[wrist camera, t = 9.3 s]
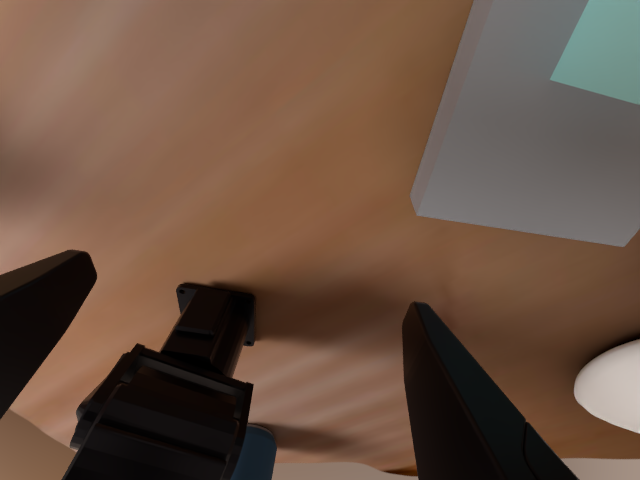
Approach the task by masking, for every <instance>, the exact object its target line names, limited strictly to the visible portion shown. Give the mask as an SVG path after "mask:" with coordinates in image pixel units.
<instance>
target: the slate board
mask: <svg viewBox="0 0 640 480" xmlns="http://www.w3.org/2000/svg"><path fill="white" fill-rule="evenodd" d="M588 1H589V0H474V1H473V4H472V7H471V11H470V14H469V17H468V20H467V23H466V26H465V29H464V32H463V35H462V38H461V41H460V44H459V47H458V50H457V53H456V56H455V59H454V62H453V65H452V68H451V71H450V74H449V78H448V81H447V84H446V87H445V90H444V93H443V96H442V99H441V102H440V105H439V108H438V111H437V114H436V117H435V120H434V123H433V126H432V129H431V132H430V135H429V138H428V142H427V145H426V148H425V151H424V154H423V157H422V160H421V163H420V166H419V169H418V172H417V175H416V178H415V181H414V184H413V187H412V190H411V193H410V198H411V201H412V204H413V206H414V209H415V212H416V215H417V216H423V217H430V218H437V219H443V220H450V221H456V222H463V223H469V224H476V225H482V226H489V227H496V228H502V229H509V230H515V231H522V232H528V233H535V234H541V235H548V236H555V237H561V238H568V239H574V240H581V241H587V242H594V243H601V244H607V245H614V246H620V247H624V246H625V245H626V244H627V243H628V242H629V241H630V239H631V238H632V237H633V236H634V235H635V234H636V232H637V231H638V230H639V229H640V105H638V104H634V103H631V102H627V101H624V100H620V99H616V98H613V97H609V96H606V95H602V94H599V93H595V92H591V91H588V90H584V89H581V88H577V87H574V86H570V85H566V84H563V83H559V82H556V81H552V80H550V78H551V76H552V74H553V72H554V70H555V68H556V66H557V64H558V62H559V60H560V58H561V56H562V54H563V52H564V50H565V48H566V46H567V44H568V42H569V40H570V38H571V36H572V33H573V31H574V29H575V27H576V25H577V23H578V21H579V19H580V17H581V15H582V13H583V11H584V9H585V7H586V5H587V3H588Z"/></svg>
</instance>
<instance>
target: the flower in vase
mask: <svg viewBox="0 0 640 480" xmlns="http://www.w3.org/2000/svg"><path fill="white" fill-rule="evenodd" d="M574 395H575V398H576V400H577V401H578V403H579V404H581V405H582V406H583V407H584V408H585V409H586V410H587V411H588V412H590V413H591V414H592V415H594V416H596V417H598V418H600V419H602V420H605V421H607V422H609V423H611V424H613V425H616V426H619V427H622V428H625V429H628V430H631V431H634V432H637V433H640V339H638V340H635V341H631V342H628V343H625V344H622V345H620V346H617V347H615V348H613V349H610V350H608V351H606V352H604V353H602V354H601V355H599V356H597V357H596V358H594V359H593V360H591V361H590V362H589V363H588V364H586V365H585V366H584V367H583V368H582V369H581V371H580V372H579V374H578V375H577V377H576V380H575V386H574Z"/></svg>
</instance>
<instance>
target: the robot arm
mask: <svg viewBox="0 0 640 480" xmlns="http://www.w3.org/2000/svg"><path fill="white" fill-rule="evenodd" d="M96 280H97V272H96V270H95V267H94V265H93V262H92V259H91V257H90V255H89V254H88V253H87V252H85V251H79V250H67V251H65V252H62V253H59V254H56V255H54V256H51V257H48V258H46V259H43V260H40V261H37V262H35V263H32V264H29V265H26V266H24V267H21V268H18V269H16V270H13V271H10V272H7V273H5V274H2V275H0V419H1V418H2V416H3V415H4V414H5V412H6V411H7V410H8V408H9V407H10V406H11V404H12V403H13V402H14V400H15V399H16V398H17V396H18V395H19V394H20V392H21V391H22V390H23V388H24V387H25V386H26V384H27V383H28V382H29V380H30V379H31V378H32V376H33V375H34V374H35V372H36V371H37V370H38V368H39V367H40V366H41V364H42V363H43V362H44V360H45V359H46V357H47V356H48V355H49V353H50V352H51V351H52V349H53V348H54V347H55V345H56V344H57V343H58V341H59V340H60V339H61V337H62V336H63V335H64V333H65V332H66V330H67V329H68V327H69V326H70V324H71V322H72V321H73V319H74V317H75V316H76V314H77V312H78V311H79V309H80V307H81V306H82V304H83V302H84V301H85V299H86V298H87V296H88V294H89V293H90V291H91V289H92V288H93V286H94V284H95V282H96ZM176 293H177V298H178V303H179V308H180V313H181V315H180V317H179V319H178V321H177V322H176V324H175V326H174V327H173V329H172V331H171V332H170V334H169V336H168V338H167V339H166V341H165V343H164V344H163V346H162V348H161V350H160V351H159V352H157V351H154V350H151V349H148V348H145V346H144V345H141V344H138V343H137V344H136V345H135V347H134V348H133V349H132V350H131V352H127V353H125V354H123V355H122V356H121V358H120V359H119V361H118V362H117V364H116V365H115V367H114V368H113V369H112V371H111V372H110V373H109V375H108V376H107V377H106V378H105V379H104V380H103V381H102V382H101V383H100V384H99V385H98V386H97V387H96V388H95V389H94V390H93V391H92V392H91V393H90V394H89V395H88V396H87V397H86V398H85V399H84V400H83V401H82V403H81V404H80V405H79V407H78V409H77V411H76V415H77V419H78V424H77V426H76V429H75V433H74V435H73V437H72V440H71V442H70V448H73V449H77V450H78V451H77V453H76V455H75V457H74V459H73V460H72V462H71V464H70V466H69V467H68V470H67V471H66V473H65V475H64V476H63V478H62V480H230V479H231V477H232V475H233V473H234V470H235V468H236V465H237V462H238V460H239V457H240V454H241V450H242V447H243V443H244V439H245V435H246V429H247V423H248V416H249V410H250V404H251V398H252V392H253V385H254V384H251V383H249V382H246V383H245V382H242V381H239V380H236V379H233V378H232V377H233V374H234V371H235V368H236V365H237V362H238V359H239V356H240V353H241V350H242V347H243V345H244V346H253V345H254V342H255V303H256V299H255V297H254V296H253V295H252V294H247V293H240V292H233V291H227V290H220V289H213V288H207V287H200V286H193V285H187V284H180V285H179V286H178V287H177V289H176ZM402 338H403V367H404V384H405V391H406V398H407V405H408V412H409V418H410V425H411V432H412V438H413V445H414V452H415V459H416V465H417V472H418V478H419V480H579V479H578V478H577V477H576V475H575V474H574V473H573V472H572V471H571V470H570V469H569V468H568V467H567V466H566V465H565V464H564V462H563V461H562V460H561V459H560V458H559V457H558V456H557V455H556V453H555V452H554V451H553V450H552V449H551V448H550V447H549V445H548V444H547V443H546V442H545V441H544V440H543V439H542V437H541V436H540V435H539V434H538V433H537V432H536V430H535V429H534V428H533V427H532V426H531V424H530V423H529V422H526V419H525V418H524V416H523V415H522V414H521V413H520V412H519V411H518V409H517V408H516V407H515V406H514V405H513V403H512V402H511V401H510V400H509V399H508V398H507V396H506V395H505V394H504V393H503V392H502V391H501V389H500V388H499V387H498V386H497V385H496V383H495V382H494V381H493V380H492V379H491V378H490V376H489V375H488V374H487V373H486V372H485V371H484V369H483V368H482V367H481V366H480V365H479V363H478V362H477V361H476V360H475V359H474V358H473V356H472V355H471V354H470V353H469V352H468V351H467V349H466V348H465V347H464V346H463V345H462V343H461V342H460V341H459V340H458V339H457V338H456V336H455V335H454V334H453V333H452V332H451V331H450V329H449V328H448V327H447V326H446V325H445V323H444V322H443V321H442V320H441V319H440V318H439V316H438V315H437V314H436V313H435V312H434V311H433V309H432V308H431V307H430V306H429V305H428V304H426V303H422V302H415V301H414V302H412V303H411V304H410V306H409V308H408V311H407V313H406V315H405V318H404V320H403V325H402Z"/></svg>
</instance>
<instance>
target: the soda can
mask: <svg viewBox="0 0 640 480" xmlns="http://www.w3.org/2000/svg"><path fill="white" fill-rule="evenodd" d="M276 451H277V447H276V443H275V440H274V436H273V434H272V433H271V432H270V431H269V430H268V429H266V428H264V427H261V426H258V425H253V424H247V429H246V435H245V439H244V443H243V447H242V450H241V454H240V457H239V460H238V462H237V465H236V468H235V470H234V473H233V475H232V477H231V479H230V480H271V479H272V474H273V467H274V462H275V457H276Z"/></svg>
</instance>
